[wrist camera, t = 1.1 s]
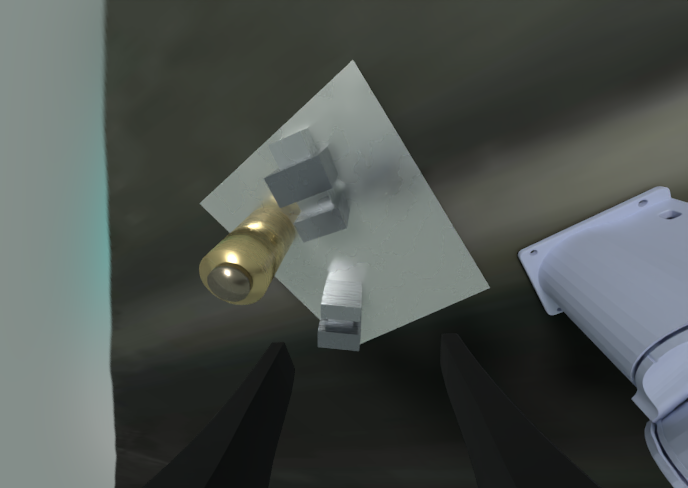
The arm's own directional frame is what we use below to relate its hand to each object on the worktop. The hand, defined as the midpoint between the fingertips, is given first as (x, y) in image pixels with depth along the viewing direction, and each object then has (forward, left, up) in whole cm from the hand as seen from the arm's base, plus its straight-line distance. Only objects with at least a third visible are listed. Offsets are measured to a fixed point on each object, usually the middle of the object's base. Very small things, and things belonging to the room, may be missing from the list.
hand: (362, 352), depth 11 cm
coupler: (+5, -5, -10) cm, 13 cm away
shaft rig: (+1, 0, -10) cm, 11 cm away
